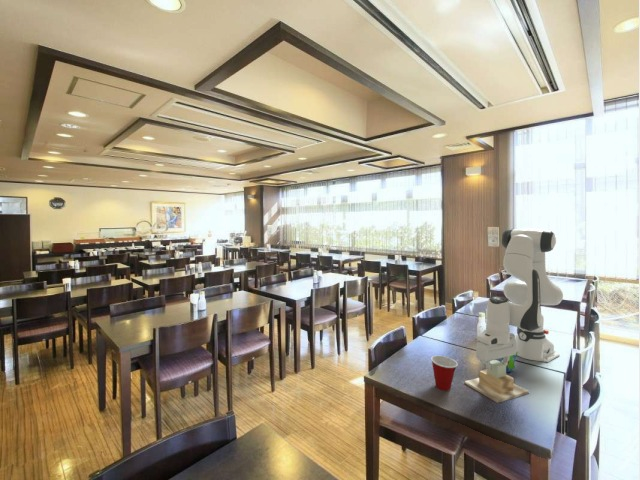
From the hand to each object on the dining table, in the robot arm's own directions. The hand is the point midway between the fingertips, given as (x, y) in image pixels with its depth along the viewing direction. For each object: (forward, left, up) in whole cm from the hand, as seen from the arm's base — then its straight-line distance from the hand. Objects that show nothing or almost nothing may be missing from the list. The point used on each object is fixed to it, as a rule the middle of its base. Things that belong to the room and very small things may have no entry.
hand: (496, 367), depth 133 cm
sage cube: (0, 0, -3) cm, 3 cm away
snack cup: (-19, -11, -9) cm, 24 cm away
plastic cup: (+20, -9, -9) cm, 24 cm away
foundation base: (0, 0, -9) cm, 9 cm away
